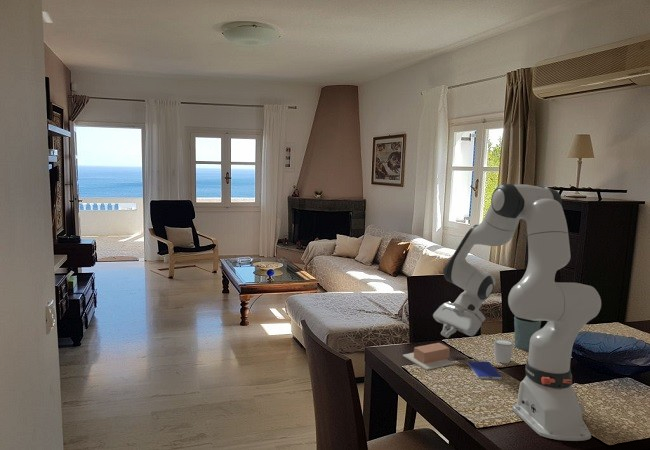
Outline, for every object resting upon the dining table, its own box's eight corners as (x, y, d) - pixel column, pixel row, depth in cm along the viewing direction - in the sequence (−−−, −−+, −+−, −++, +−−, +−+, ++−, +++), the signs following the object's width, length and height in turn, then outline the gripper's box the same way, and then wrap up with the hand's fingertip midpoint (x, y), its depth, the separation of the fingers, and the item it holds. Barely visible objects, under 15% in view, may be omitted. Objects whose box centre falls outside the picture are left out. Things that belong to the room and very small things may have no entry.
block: (449, 348, 177) (424, 353, 171) (449, 358, 177) (423, 363, 172) (439, 342, 182) (414, 347, 177) (438, 352, 183) (413, 357, 177)
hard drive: (467, 361, 174) (478, 375, 162) (489, 361, 174) (502, 376, 162) (467, 365, 174) (478, 380, 162) (489, 365, 174) (502, 380, 162)
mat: (454, 364, 173) (454, 362, 173) (426, 370, 167) (426, 368, 167) (429, 350, 186) (429, 349, 186) (402, 355, 180) (402, 354, 180)
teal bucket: (532, 353, 185) (534, 324, 184) (507, 346, 193) (509, 317, 191) (543, 347, 192) (545, 319, 191) (518, 340, 200) (521, 312, 198)
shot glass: (515, 364, 175) (516, 346, 174) (496, 363, 175) (497, 345, 174) (508, 357, 181) (509, 339, 181) (490, 356, 182) (491, 338, 181)
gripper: (442, 295, 190) (421, 322, 187) (480, 309, 172) (458, 339, 169) (450, 305, 193) (430, 332, 189) (488, 320, 175) (467, 349, 171)
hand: (443, 335), depth 179 cm, fingers closed
